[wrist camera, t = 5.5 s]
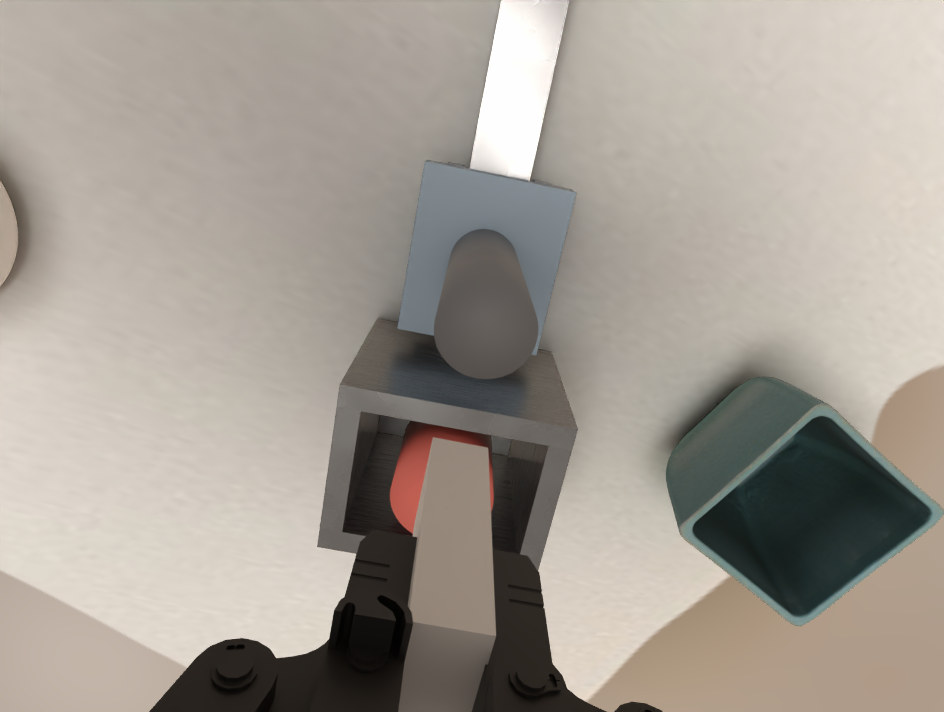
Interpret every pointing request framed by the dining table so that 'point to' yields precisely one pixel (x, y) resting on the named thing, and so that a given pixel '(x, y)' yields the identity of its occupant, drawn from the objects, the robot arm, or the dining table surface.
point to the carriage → (483, 265)
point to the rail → (518, 86)
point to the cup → (7, 234)
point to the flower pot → (791, 498)
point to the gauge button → (425, 465)
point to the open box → (455, 406)
